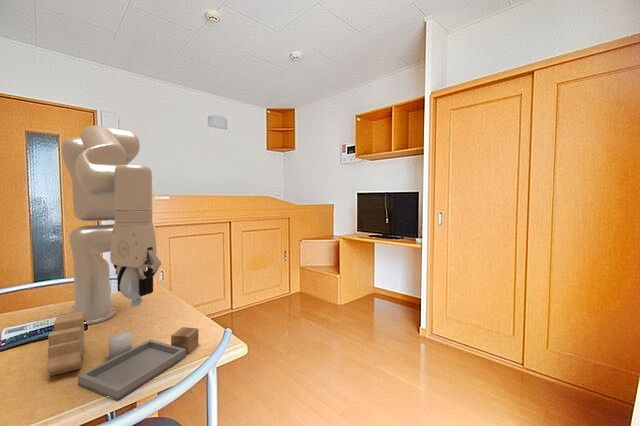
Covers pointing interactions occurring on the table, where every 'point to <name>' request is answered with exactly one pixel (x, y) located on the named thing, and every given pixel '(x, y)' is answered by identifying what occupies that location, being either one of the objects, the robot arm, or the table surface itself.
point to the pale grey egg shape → (119, 344)
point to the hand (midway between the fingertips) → (135, 291)
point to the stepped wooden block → (66, 344)
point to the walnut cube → (185, 339)
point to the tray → (131, 369)
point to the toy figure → (131, 285)
